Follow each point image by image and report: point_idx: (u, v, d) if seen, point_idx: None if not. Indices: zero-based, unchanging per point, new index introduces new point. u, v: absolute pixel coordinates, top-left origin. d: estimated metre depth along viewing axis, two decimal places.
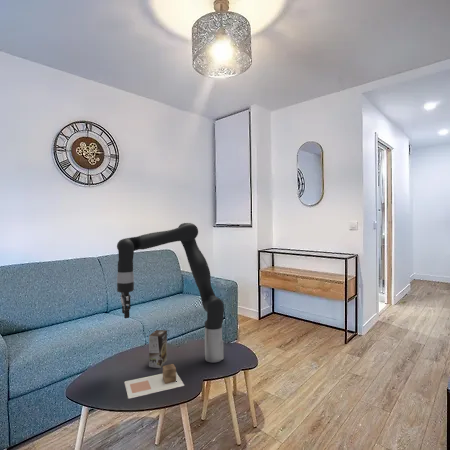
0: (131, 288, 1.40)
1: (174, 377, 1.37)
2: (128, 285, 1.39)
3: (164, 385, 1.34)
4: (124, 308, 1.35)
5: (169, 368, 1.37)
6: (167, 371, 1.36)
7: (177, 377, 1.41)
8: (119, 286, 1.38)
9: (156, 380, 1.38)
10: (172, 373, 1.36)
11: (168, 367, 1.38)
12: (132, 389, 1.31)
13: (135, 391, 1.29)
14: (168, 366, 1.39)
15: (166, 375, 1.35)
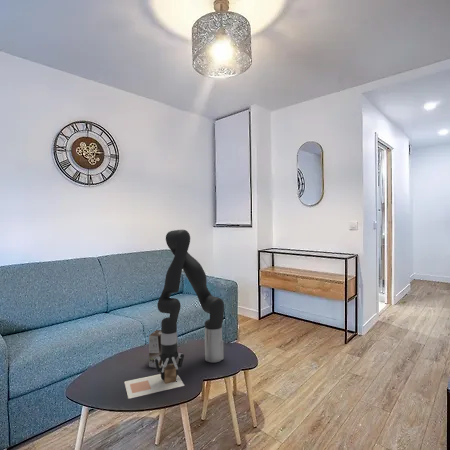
0: None
1: (174, 377, 1.37)
2: None
3: (164, 385, 1.34)
4: (181, 366, 1.39)
5: (169, 368, 1.37)
6: (167, 371, 1.36)
7: (177, 377, 1.41)
8: (175, 347, 1.36)
9: (156, 380, 1.38)
10: (172, 373, 1.36)
11: (168, 367, 1.38)
12: (132, 389, 1.31)
13: (135, 391, 1.29)
14: (168, 366, 1.39)
15: (166, 375, 1.35)
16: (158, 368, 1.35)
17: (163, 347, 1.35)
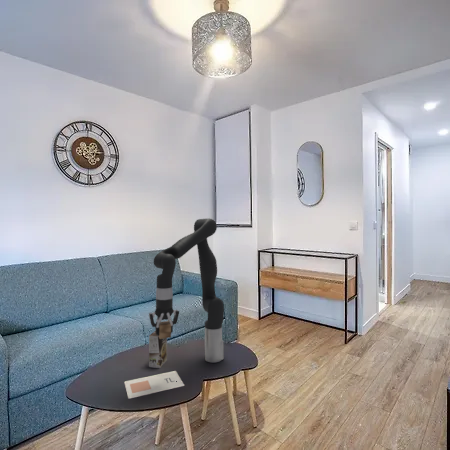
0: None
1: (169, 333, 1.36)
2: None
3: (164, 385, 1.34)
4: (176, 322, 1.38)
5: (164, 324, 1.36)
6: (162, 326, 1.35)
7: (177, 377, 1.41)
8: (170, 302, 1.36)
9: (156, 380, 1.38)
10: (166, 329, 1.35)
11: (163, 323, 1.37)
12: (132, 389, 1.31)
13: (135, 391, 1.29)
14: (163, 322, 1.38)
15: (161, 330, 1.34)
16: (153, 323, 1.34)
17: (158, 302, 1.34)
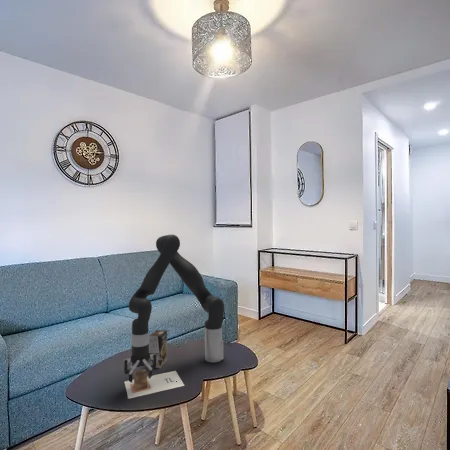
0: None
1: (145, 383, 1.31)
2: None
3: (164, 385, 1.34)
4: (155, 366, 1.34)
5: (140, 374, 1.32)
6: (138, 377, 1.30)
7: (177, 377, 1.41)
8: (146, 349, 1.31)
9: (156, 380, 1.38)
10: (142, 380, 1.31)
11: (139, 373, 1.33)
12: (132, 389, 1.31)
13: (135, 391, 1.29)
14: (139, 372, 1.33)
15: (136, 381, 1.30)
16: (126, 370, 1.29)
17: (133, 349, 1.30)
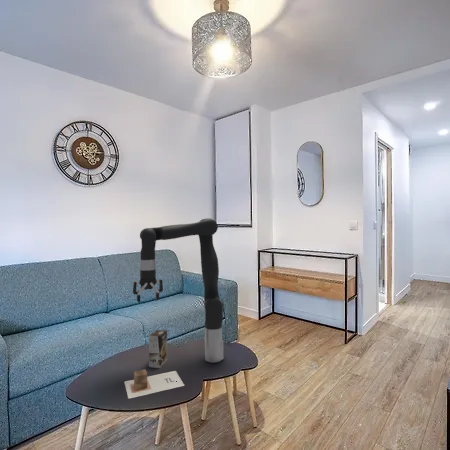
0: None
1: (145, 383, 1.31)
2: None
3: (164, 385, 1.34)
4: (162, 290, 1.50)
5: (140, 374, 1.32)
6: (138, 377, 1.30)
7: (177, 377, 1.41)
8: (153, 273, 1.46)
9: (156, 380, 1.38)
10: (142, 380, 1.31)
11: (139, 373, 1.33)
12: (132, 389, 1.31)
13: (135, 391, 1.29)
14: (139, 372, 1.33)
15: (136, 381, 1.30)
16: (135, 290, 1.44)
17: (142, 272, 1.45)
